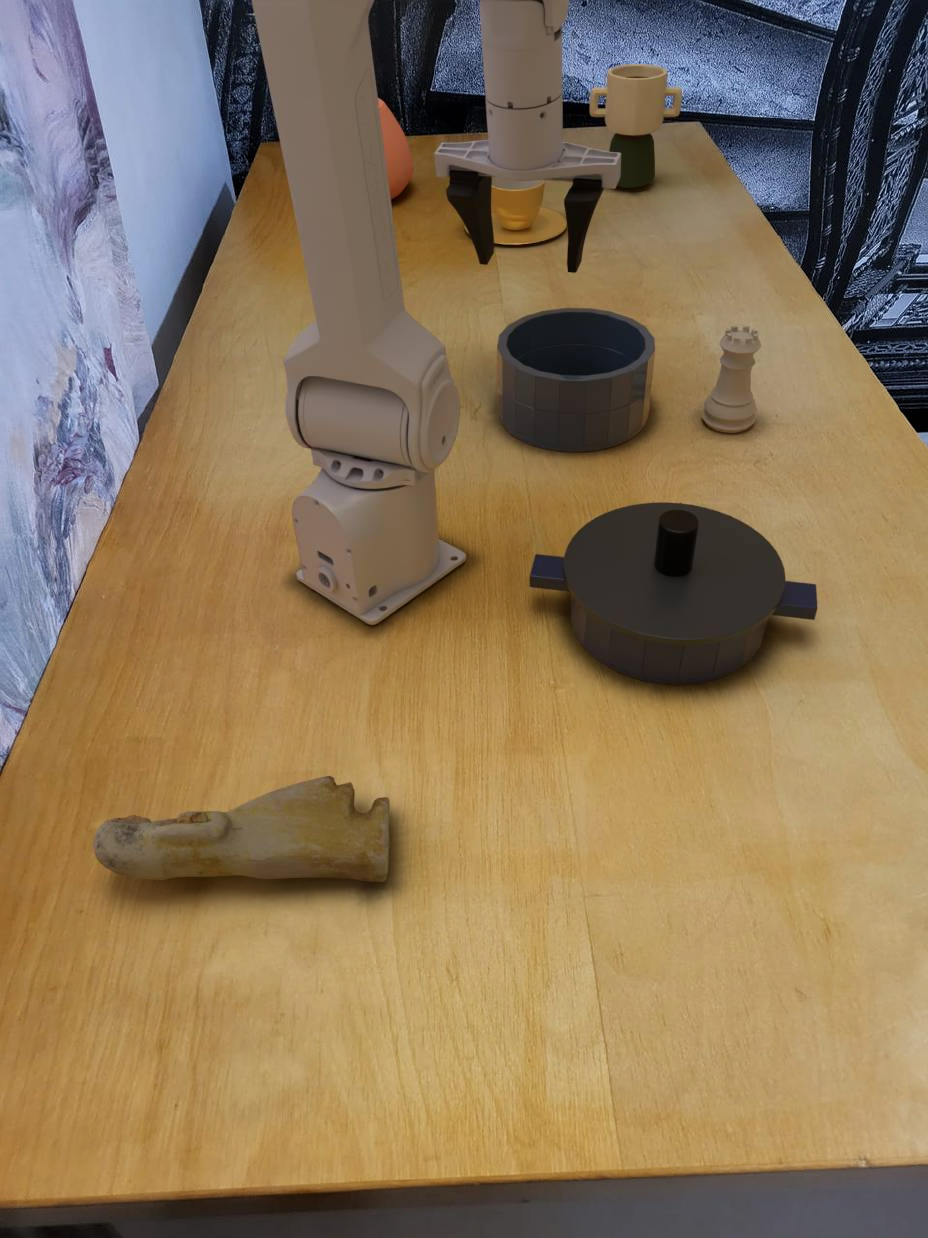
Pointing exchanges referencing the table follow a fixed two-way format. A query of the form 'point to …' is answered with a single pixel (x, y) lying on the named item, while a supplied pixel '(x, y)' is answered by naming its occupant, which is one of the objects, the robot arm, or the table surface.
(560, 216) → the cup
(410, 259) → the table surface
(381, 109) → the teapot
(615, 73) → the character mug
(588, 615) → the pan
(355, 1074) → the table surface
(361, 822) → the figurine
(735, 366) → the rook chess piece
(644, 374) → the pot
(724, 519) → the lid
